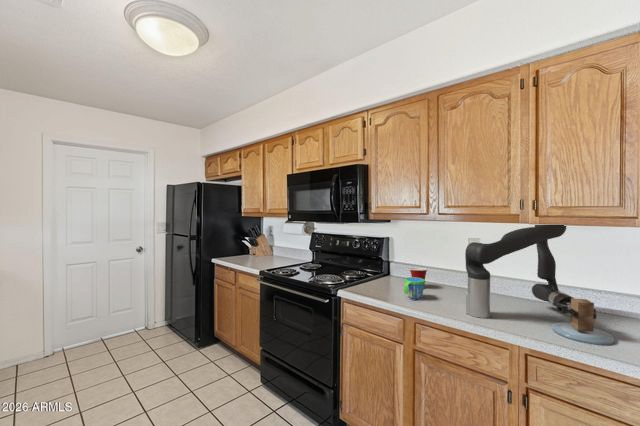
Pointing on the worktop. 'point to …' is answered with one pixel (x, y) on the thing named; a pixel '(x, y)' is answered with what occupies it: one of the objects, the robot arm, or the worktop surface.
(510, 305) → the worktop surface
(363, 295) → the worktop surface
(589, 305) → the walnut block
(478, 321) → the worktop surface
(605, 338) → the slate plate
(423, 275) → the plastic cup
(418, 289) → the snack cup
